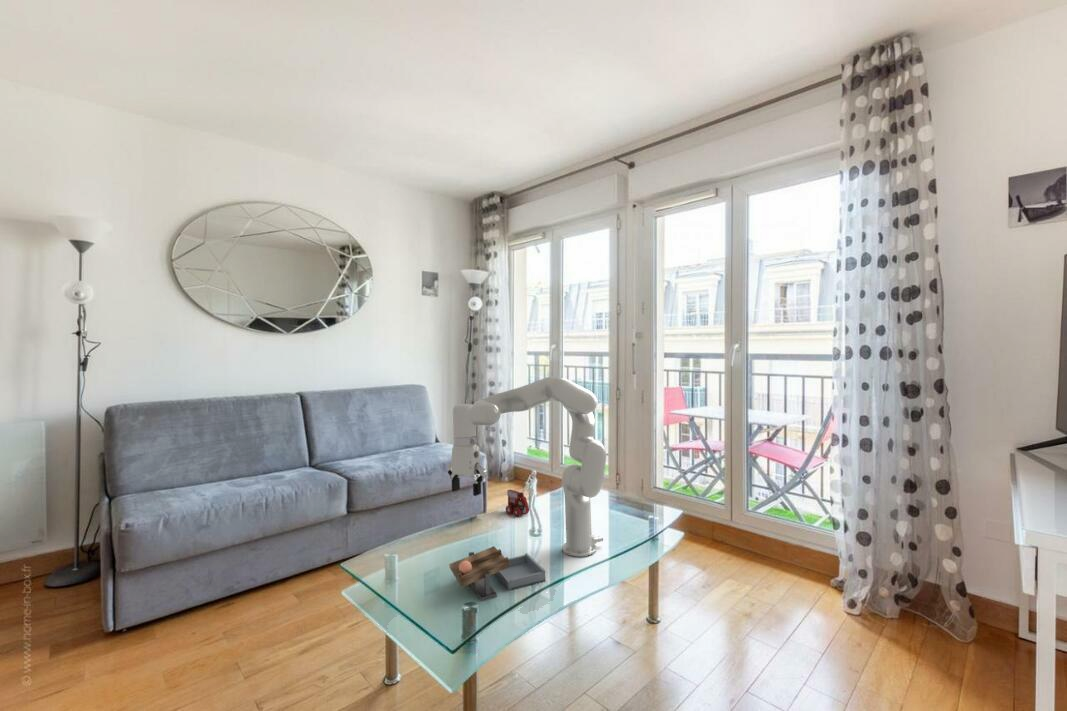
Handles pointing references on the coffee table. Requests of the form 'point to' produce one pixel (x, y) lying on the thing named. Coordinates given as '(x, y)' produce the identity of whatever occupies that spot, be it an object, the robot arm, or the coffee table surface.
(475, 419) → the robot arm
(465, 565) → the ball
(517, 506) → the red toy vehicle
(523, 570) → the tray
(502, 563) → the lever
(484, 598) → the lever stand
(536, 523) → the coffee table surface
